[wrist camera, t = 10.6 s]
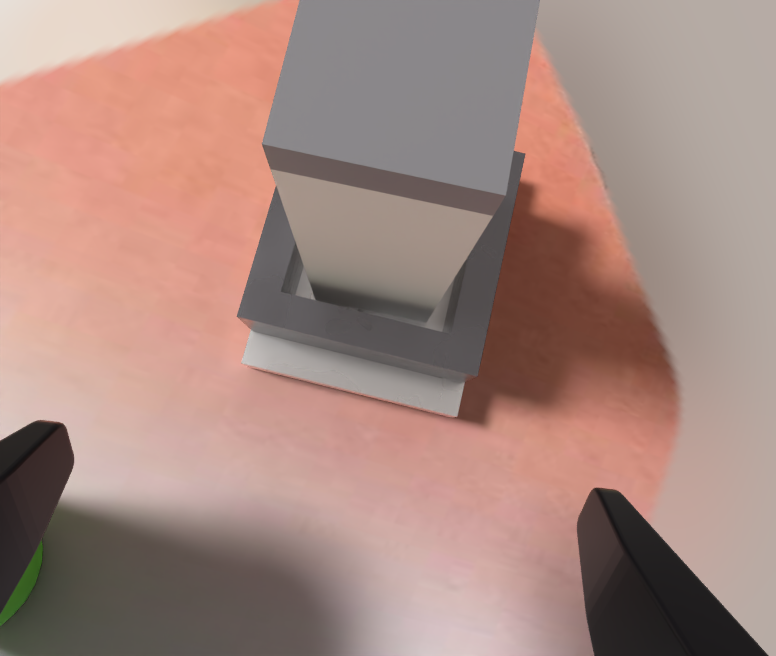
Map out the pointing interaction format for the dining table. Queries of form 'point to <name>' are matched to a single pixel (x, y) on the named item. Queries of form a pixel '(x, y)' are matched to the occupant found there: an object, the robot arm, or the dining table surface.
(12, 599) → the cup
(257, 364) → the socket
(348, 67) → the plug
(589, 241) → the dining table surface
